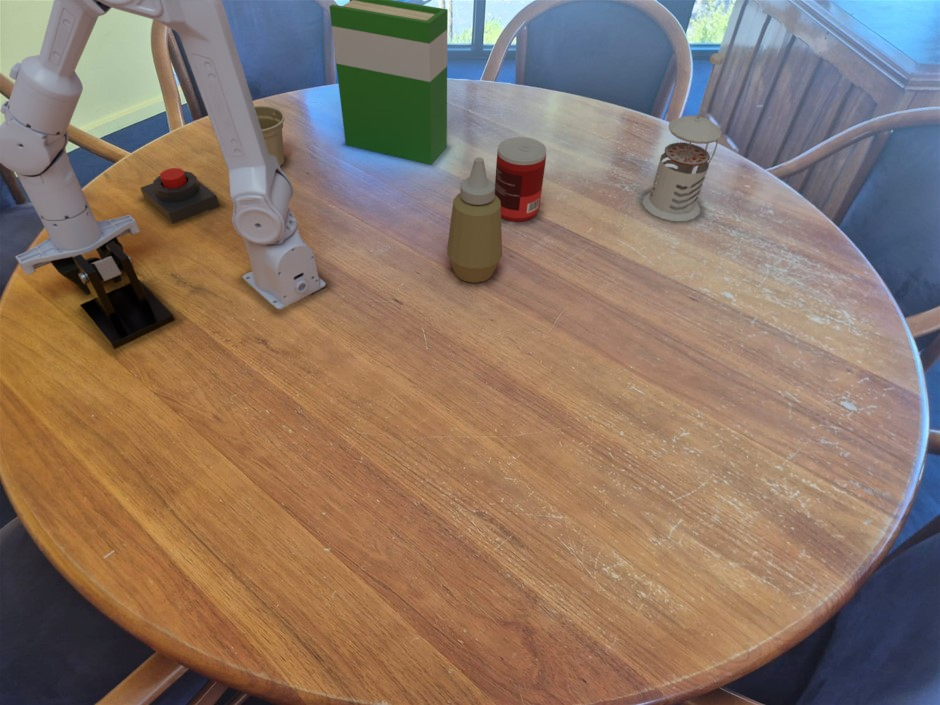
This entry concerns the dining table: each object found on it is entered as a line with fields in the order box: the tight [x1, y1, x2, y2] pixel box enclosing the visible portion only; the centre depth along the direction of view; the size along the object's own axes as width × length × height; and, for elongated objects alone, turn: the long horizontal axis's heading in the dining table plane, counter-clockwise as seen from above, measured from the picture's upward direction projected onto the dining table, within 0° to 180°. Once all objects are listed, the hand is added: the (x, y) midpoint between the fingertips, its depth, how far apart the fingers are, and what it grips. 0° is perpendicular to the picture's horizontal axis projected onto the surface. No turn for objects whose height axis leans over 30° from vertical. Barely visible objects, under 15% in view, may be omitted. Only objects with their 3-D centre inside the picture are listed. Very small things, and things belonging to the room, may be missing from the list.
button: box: [159, 167, 187, 188], centre depth 99 cm, size 4×4×2 cm
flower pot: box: [254, 105, 286, 167], centre depth 108 cm, size 9×9×9 cm
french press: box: [641, 52, 724, 222], centre depth 98 cm, size 10×12×25 cm
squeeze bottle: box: [446, 157, 503, 283], centre depth 85 cm, size 8×8×18 cm
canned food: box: [494, 136, 547, 223], centre depth 100 cm, size 8×8×11 cm
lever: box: [85, 256, 122, 282], centre depth 81 cm, size 13×3×3 cm
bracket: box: [73, 242, 176, 350], centre depth 79 cm, size 10×8×10 cm
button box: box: [140, 170, 220, 225], centre depth 100 cm, size 10×8×4 cm
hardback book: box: [329, 0, 449, 166], centre depth 109 cm, size 18×7×24 cm, turn 69°
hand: (104, 291), depth 88 cm, fingers closed on lever, 3 cm apart
